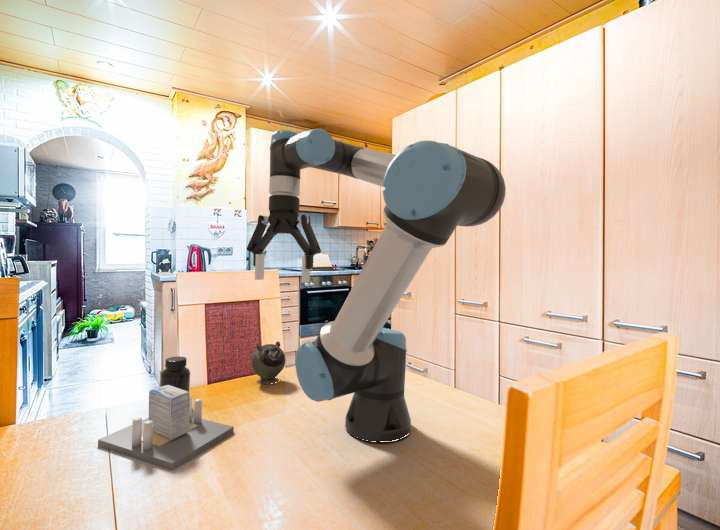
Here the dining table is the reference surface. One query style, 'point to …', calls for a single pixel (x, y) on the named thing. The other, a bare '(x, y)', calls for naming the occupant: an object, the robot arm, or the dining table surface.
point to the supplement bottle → (176, 373)
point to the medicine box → (169, 411)
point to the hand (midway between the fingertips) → (281, 281)
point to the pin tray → (167, 440)
